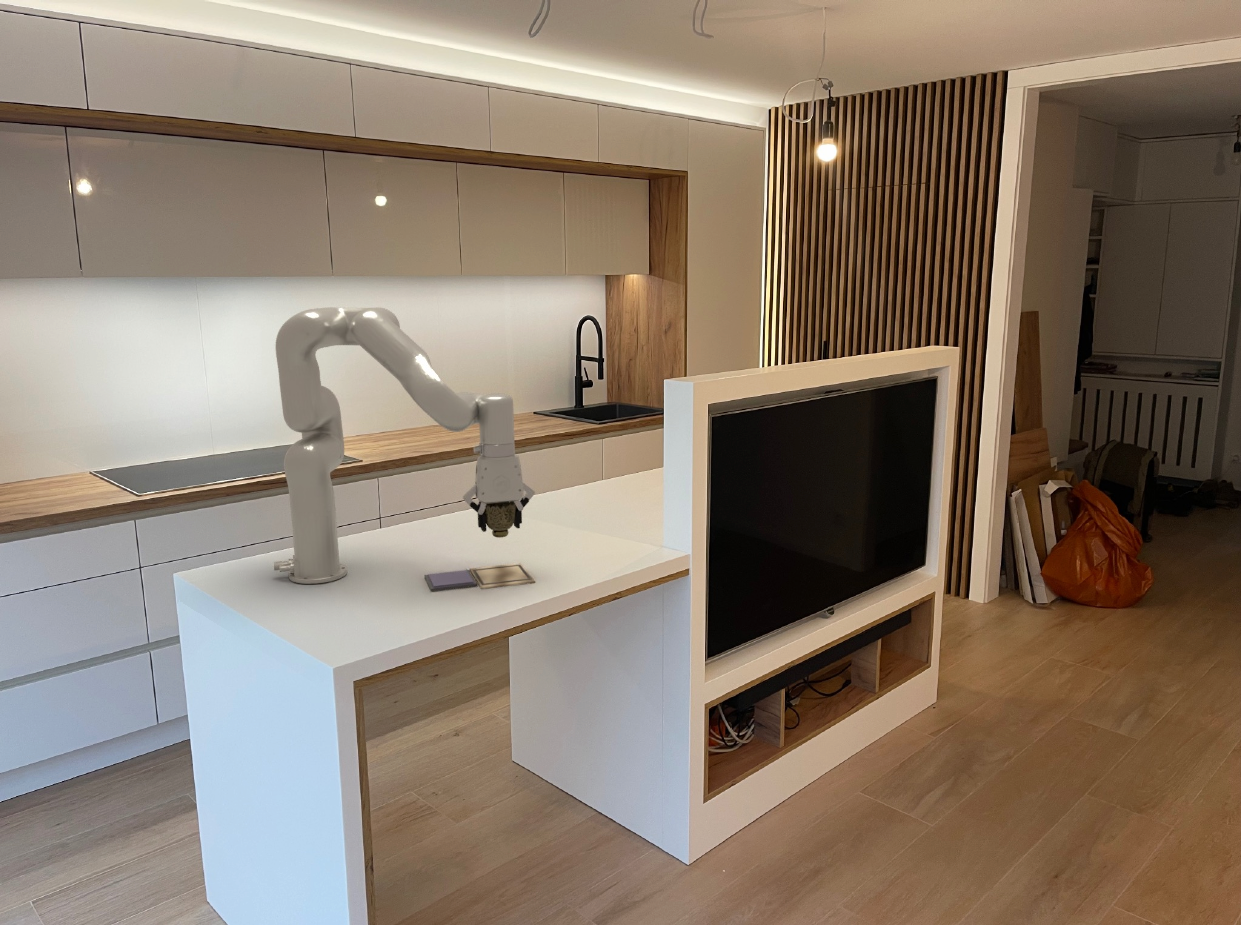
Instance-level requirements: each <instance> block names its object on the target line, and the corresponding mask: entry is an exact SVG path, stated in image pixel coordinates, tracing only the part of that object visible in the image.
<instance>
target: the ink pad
mask: <svg viewBox="0 0 1241 925" xmlns="http://www.w3.org/2000/svg"><path fill="white" fill-rule="evenodd" d="M424 579H425V581H426V584H427V586H428V589H429V590H430V593H433V592H441V591H442V592H443V591H449V590H450V591H451V590H459V589H467V588H477V587H478V583H477V581H476V580H475V578H474V577H473V575H472V573H471V572H470V570H469V569H463V570H455V571H454V570H453V571H446V572H445V571H443V572H437V573H429V574H428V573H427V574H424ZM476 586H477V587H476Z"/></svg>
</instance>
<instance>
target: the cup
mask: <svg viewBox="0 0 1241 925" xmlns="http://www.w3.org/2000/svg"><path fill="white" fill-rule="evenodd" d="M485 507H486V508H485V510H484V514H486V527H487V528H488V529H489V530H491V534H492V536H493V537H495V538H497V539H498V538H499V539H500V538H501V539H502V538H506V537H508V535H509V533H510V531H509V530H510V529H511V528H512V526H514V519H515V511H516V505H515V503H514V501H512V502H501V503H489V504H487V506H485Z"/></svg>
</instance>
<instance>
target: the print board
mask: <svg viewBox="0 0 1241 925" xmlns="http://www.w3.org/2000/svg"><path fill="white" fill-rule="evenodd" d="M468 570H469V571H470V573H471V574H472V576H473V578H474V579H475V581H476V582H477V585H478V586H479V587H480V589H481V590H485V589H484V588H487V589H493V588H503V586H504V587H512V586H519V585H520V586H521V585H528V584H527V583H530V584H536V580H535V579H534V578H533V576H532V575H531V574H530V573H529V571H528V570H527V569H526V568H525V567H524V565H523V564H522V563H521V562H517V563H516V562H515V563H507V564H500V565H490V566H489V565H488V566H481V567H472V568H468Z"/></svg>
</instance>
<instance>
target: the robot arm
mask: <svg viewBox="0 0 1241 925" xmlns="http://www.w3.org/2000/svg"><path fill="white" fill-rule="evenodd" d="M275 339H276V340H275V357H276V363H277V369H278V381H279V382H278V384H279V390H280V398H281V407H282V408H281V409H282V414H283V415H282V416H283V419H284V422H285V424H286V425H287V427H288V428H289V429H290V430H292V431H293V432H296V433H300V434H301V439H299V440H297V441H295V442H294V443H293V444H292V445H290V447H289V448H288V449H287V451H286V453H285V454H284V455H285V456H284V458H283V469H284V474H285V479H286V484H287V487H288V495H289V505H290V515H291V528H292V529H291V530H292V541H293V552H294V553H293V555H292V558H291V559H290V558H289V559H288V560H287V561H286V560H285V561H283V560H282V561H281V560H280V561H273V569H274V570H273V571H279V573H281V572H282V573H284V572H288V578H289V580H290V582H291V581H292V582H293V583H297V584H306V585H307V584H309V585H310V584H311V585H312V584H313V585H315V584H323V583H329V582H333V581H336V580H339V579H342V578H343V577H345V576H346V575H347V573H348V569H347V566H346V565H345V564H342V563H340V554H339V551H340V550H339V540H338V538H339V536H338V527H337V526H338V525H337V524H338V522H337V508H336V499H335V498H336V497H335V491H334V486H333V483H332V482H333V481H332V479H331V473H332V472H334V470H336V469H337V468H338V467H340V465H341V464H342V462H343V460H344V458H345V457H344V456H345V441H344V440H345V439H344V432H343V422H342V414H341V407H340V403H339V401H338V398H337V397H336V395H335V393H334V392H333V391H332V390H331V389H330V388H328V387H326V386H324V385H322V383H321V370H320V366H319V362H318V360H317V356H316V353H317V351H319V350H320V349H323V348H330V347H334V346H360V347H361V348H362V349H363V350H364V351H365V352H366V353H368V355H370V356H371V357H372V358H373V359H374V360H376V361H377V362H378V363H379V364H380V365H381V366H382V367H383V368H384V369H385V370H387V371H388V372H389V373H390V374H391V375H392V376H393V377H394V378H395V379H396V380H397V381H398V382H399V383H400V385H401V386H402V388H403V389H404V390H405V392H406V393H407V394H408V395H409V396H410V398H411V399H412V400H413V401H414V402H415V403H416V405H417V407H419V408H420V409H421V410H422V411H423V412H425V414H427V415H428V416H429V417H430V418H431V420H432V419H433V421H434V422H436V423H437V425H439V426H440V427H442V428H443V429H445V430H446V431H449V432H452V433H460V432H463V431H465V430H467V429H468V428H469V427H471V426H473V425H479V444H478V445H476V446H473V453H474V454H479V455H480V456H477V460H476V467H475V479H474V480H475V481H474V482H475V484H474V485H473V486H472V487H471V488H470V489H468V491H467V492H465V494H463V496H462V500H464V502H465V503H466V504H467V505H468V506H469V507H470V508H471V509H473V510H474V511H475V512H476V513H477V526H478V528H480V530H481V532H482V533H484V532H485V533H486V532H487V524H486V514H484V510H485V508H486V507H485V506H487V504H489V503H501V502H512V501H514V503H515V505H516V511H515V519H514V523H513V526H514V528H516V529H521V528H520V527H521V525H520V524H523V512H522V511H523V510H524V508H525V506H527V505H528V504H529V502H530V500H532V498H533V497H534V495H535V494H536V491H535V490H534V489H532V488H531V487H529V485H527V484H526V483H524V480H523V474H522V473H523V472H522V471H523V470H522V466H521V461H520V457H519V455H518V454H516V452H515V450H516V449H515V445H516V444H515V443H516V442H515V419H514V418H515V416H514V414H515V413H514V401H513V398H512V395H510V394H507V393H496V392H495V393H485V394H484V393H482V394H481V393H473V392H469V391H467V392H466V391H461V392H457V393H456V392H455V391H454V390H453V389H451V388H450V387H449V386H448V385H447V384H446V383H445V382H444V381H443V380H442V379H441V378H440V376H438V374H437V373H436V372H435V370H434V367H433V366H432V363H431V360H430V358H429V355H428V354H427V352H426V351H425V349H423V348H422V347H421V346H420V345H419V344H418V343H416V341H414V340H413V339H412V338H411V337H410V336H409V335H407V333H406V332H404V331H403V329H401V326H400V320H399V319H398V317H397V315H395V313H393V312H392V310H389V309H387V308H385V307H331V306H330V307H320V308H319V307H317V308H309V309H306V310H303V311H300V312H298V313H296V314H294V315H292V316H291V317H289V318H288V319H287V320H286V321H285V322H284V323H283V324H282V326H280V329H279V330H278V332H277V335H276V338H275ZM524 492H525V495H524ZM474 496H475V497H476V499H477V500H478V503H476V502H474V500H473V499H472V498H473V497H474Z"/></svg>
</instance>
